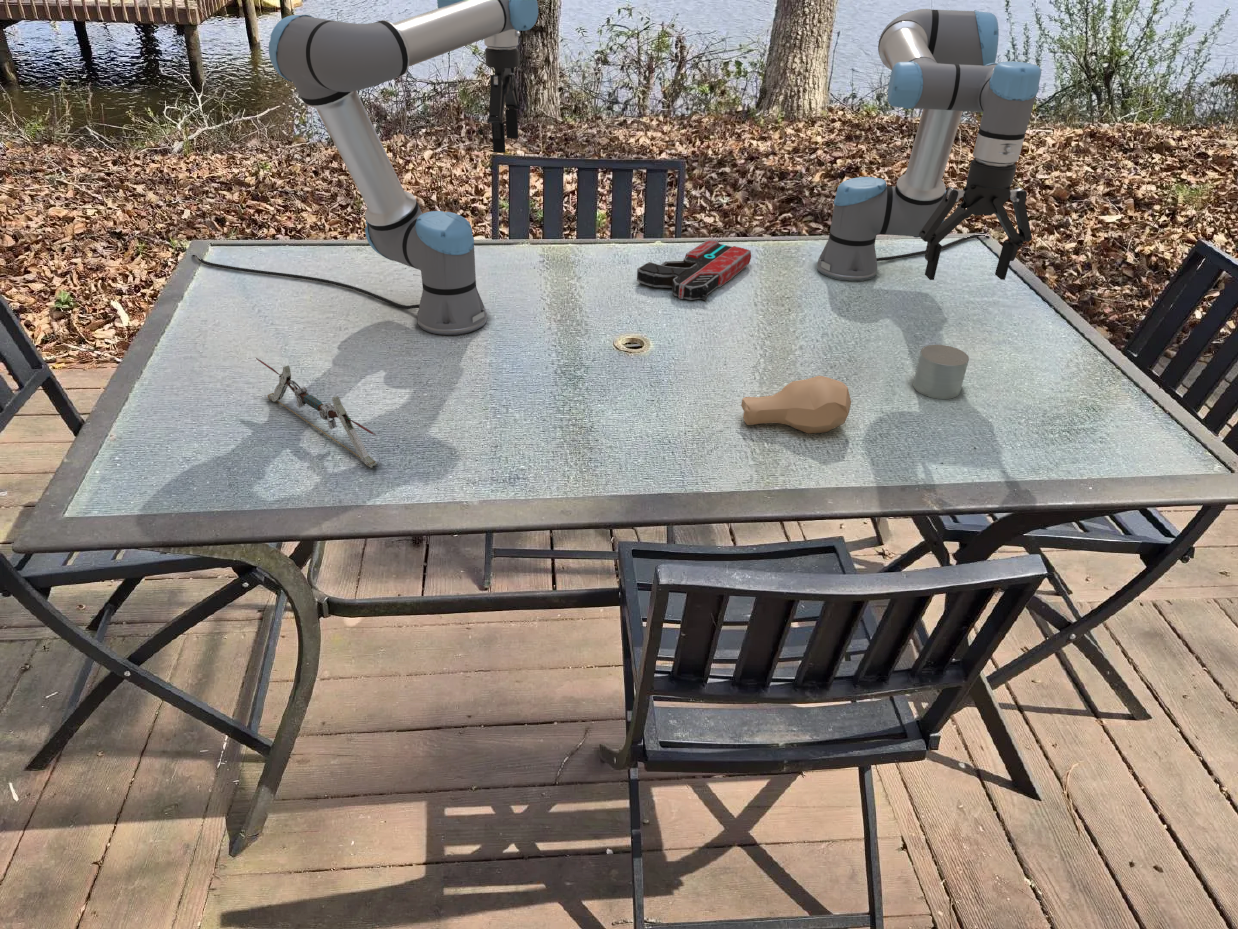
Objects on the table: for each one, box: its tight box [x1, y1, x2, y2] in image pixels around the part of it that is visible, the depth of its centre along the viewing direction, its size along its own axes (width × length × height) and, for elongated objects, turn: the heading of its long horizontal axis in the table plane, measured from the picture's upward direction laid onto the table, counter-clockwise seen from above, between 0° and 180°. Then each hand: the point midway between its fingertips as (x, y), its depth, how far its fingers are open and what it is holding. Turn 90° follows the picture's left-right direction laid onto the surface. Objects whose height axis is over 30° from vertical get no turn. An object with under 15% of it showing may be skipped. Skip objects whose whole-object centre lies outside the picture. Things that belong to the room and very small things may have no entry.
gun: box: [636, 239, 752, 301], centre depth 222 cm, size 4×31×19 cm
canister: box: [912, 344, 970, 400], centre depth 175 cm, size 9×9×8 cm
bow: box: [255, 357, 378, 469], centre depth 154 cm, size 39×2×10 cm, turn 47°
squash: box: [740, 375, 852, 434], centre depth 161 cm, size 11×20×9 cm, turn 90°
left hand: (506, 144), depth 209 cm, fingers open, 13 cm apart
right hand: (964, 277), depth 164 cm, fingers open, 13 cm apart
